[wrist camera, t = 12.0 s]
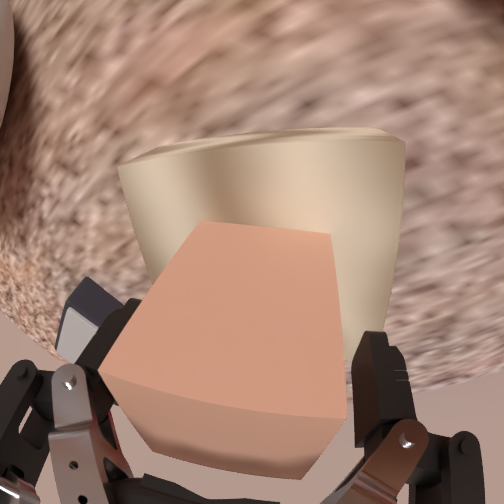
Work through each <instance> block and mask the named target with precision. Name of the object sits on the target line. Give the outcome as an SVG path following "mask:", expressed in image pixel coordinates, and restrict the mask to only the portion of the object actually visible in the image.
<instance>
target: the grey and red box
mask: <svg viewBox="0 0 504 504" xmlns="http://www.w3.org/2000/svg"><path fill="white" fill-rule="evenodd" d="M123 307H124V305H123V304H122V303H121V302H119V301H118V300H117V299H115V298H114V297H113V296H112V295H110V294H109V293H108V292H106V291H105V290H104V289H103V288H101V287H100V286H99V285H98V284H96V283H95V282H94V281H93V280H92V279H90V278H89V277H85V278H84V279H83V280H82V282H81V283H80V284H79V285H78V286H77V288H76V289H75V290H74V291H73V293H72V294H71V295H70V296H69V298H68V299H67V300H66V302H65V306H64V310H63V313H62V317H61V321H60V326H59V330H58V334H57V339H56V343H55V350H56V351H57V354H59V355H60V356H61V357H63V358H64V359H65V360H67V361H68V362H70V363H71V364H74V363H75V362H76V360H77V359H78V357H79V356H80V355H81V353H82V352H83V350H84V349H85V347H86V346H87V344H88V343H89V341H90V340H91V338H92V337H93V336H94V335H95V334H96V331H97V330H98V329H99V327H101V324H102V323H103V322H104V320H105V319H106V317H107V316H108V315H109V314H111V313H112V312H114V311H115V310H116V309H118V308H119V309H122V308H123Z"/></svg>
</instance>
